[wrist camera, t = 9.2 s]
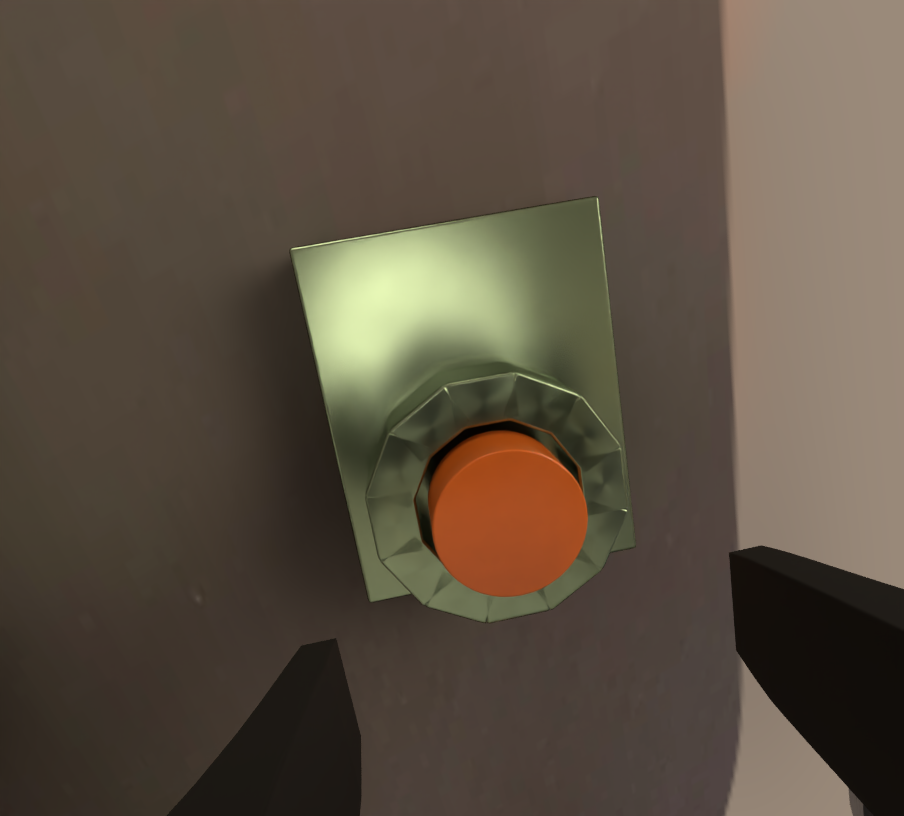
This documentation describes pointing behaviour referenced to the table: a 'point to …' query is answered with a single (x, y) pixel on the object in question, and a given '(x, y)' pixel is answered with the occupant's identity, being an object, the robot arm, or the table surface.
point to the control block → (466, 381)
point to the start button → (505, 514)
